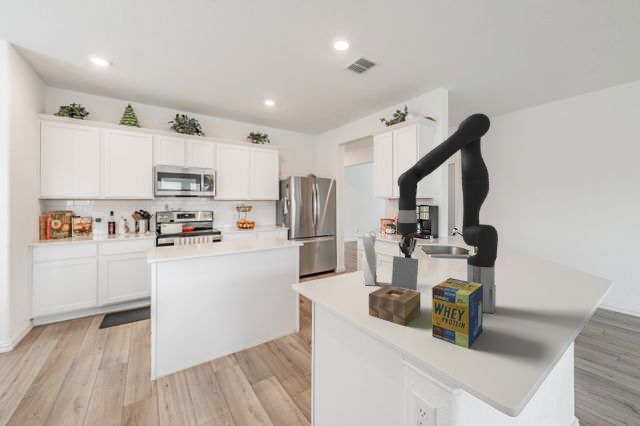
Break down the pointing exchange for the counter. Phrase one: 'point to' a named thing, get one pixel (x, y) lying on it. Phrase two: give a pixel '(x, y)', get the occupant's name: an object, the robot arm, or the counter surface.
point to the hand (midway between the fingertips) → (408, 263)
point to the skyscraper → (369, 260)
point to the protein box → (457, 311)
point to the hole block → (395, 304)
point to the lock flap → (405, 272)
